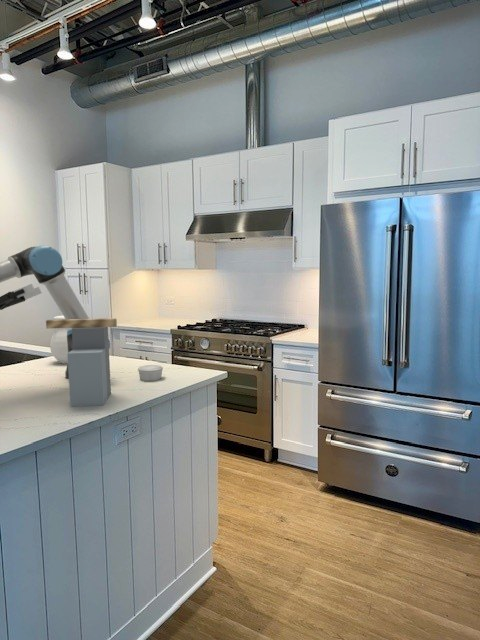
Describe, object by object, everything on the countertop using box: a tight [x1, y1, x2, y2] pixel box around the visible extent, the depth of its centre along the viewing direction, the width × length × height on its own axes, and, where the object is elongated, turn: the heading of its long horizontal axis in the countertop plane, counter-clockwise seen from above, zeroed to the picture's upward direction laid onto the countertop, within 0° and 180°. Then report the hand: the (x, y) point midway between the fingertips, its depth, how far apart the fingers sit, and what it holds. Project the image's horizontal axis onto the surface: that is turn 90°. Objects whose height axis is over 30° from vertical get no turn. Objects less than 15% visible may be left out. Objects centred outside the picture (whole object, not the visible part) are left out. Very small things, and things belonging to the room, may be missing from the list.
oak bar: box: [45, 317, 118, 329], centre depth 180 cm, size 26×3×3 cm, turn 96°
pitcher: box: [49, 314, 71, 365], centre depth 248 cm, size 19×18×25 cm
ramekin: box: [137, 364, 163, 382], centre depth 211 cm, size 11×11×5 cm
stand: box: [67, 327, 112, 407], centre depth 178 cm, size 12×16×28 cm
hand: (37, 288), depth 177 cm, fingers open, 13 cm apart
